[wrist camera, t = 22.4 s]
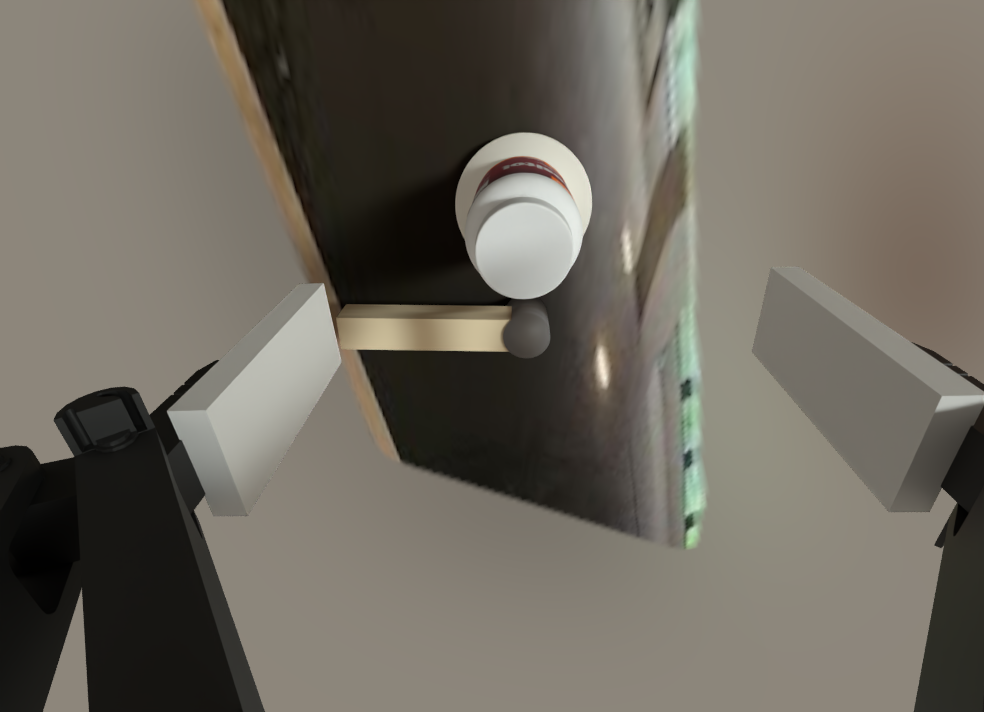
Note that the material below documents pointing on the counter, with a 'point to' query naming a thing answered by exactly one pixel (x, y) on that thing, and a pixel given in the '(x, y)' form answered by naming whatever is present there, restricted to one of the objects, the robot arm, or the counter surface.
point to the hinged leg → (447, 327)
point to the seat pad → (524, 146)
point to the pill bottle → (523, 228)
